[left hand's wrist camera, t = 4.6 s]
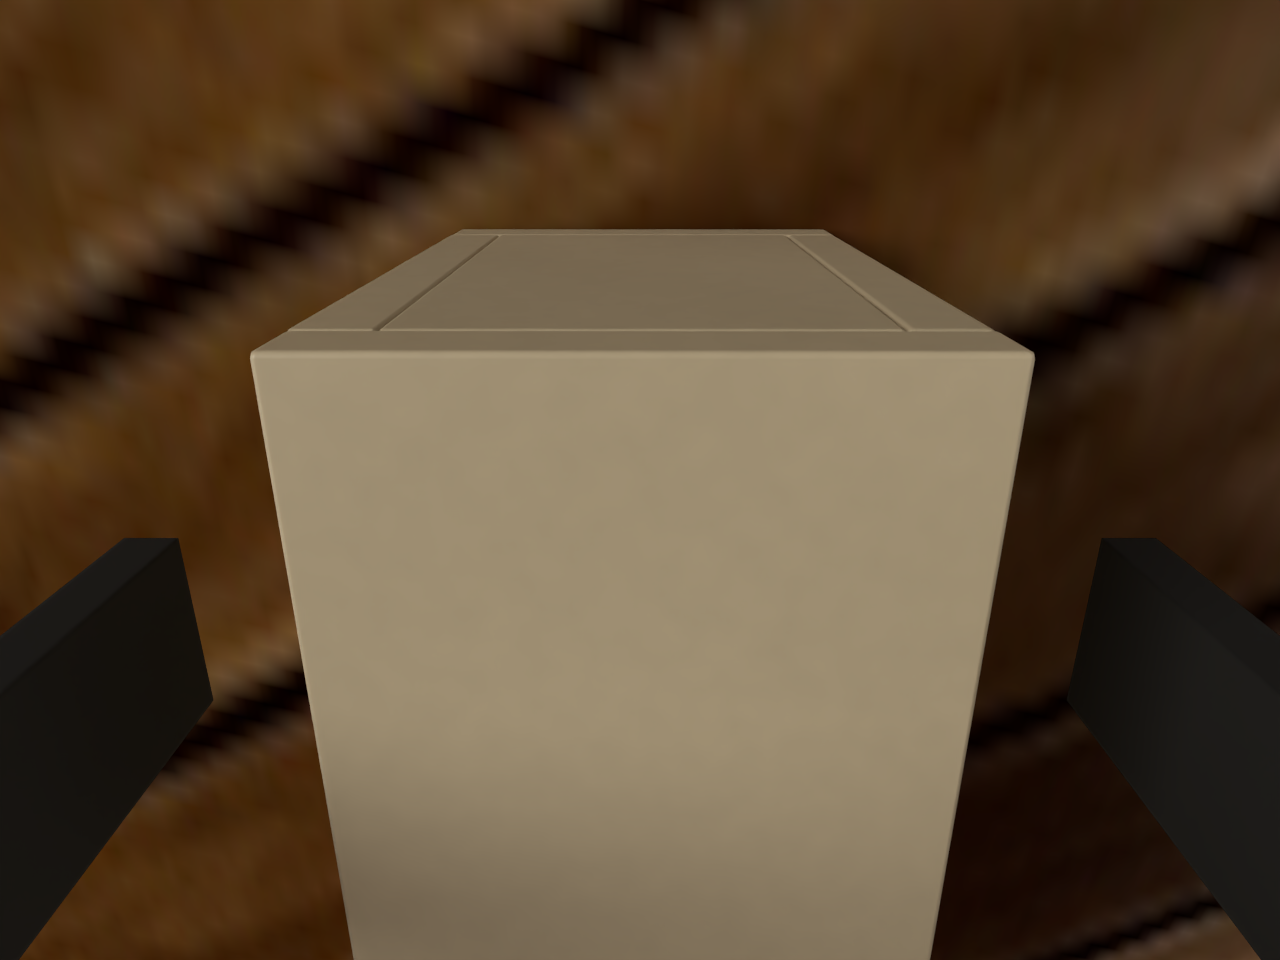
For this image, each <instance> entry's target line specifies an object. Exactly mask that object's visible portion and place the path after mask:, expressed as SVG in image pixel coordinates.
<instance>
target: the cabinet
mask: <svg viewBox="0 0 1280 960" xmlns="http://www.w3.org/2000/svg"><path fill="white" fill-rule="evenodd" d="M250 360H251V366H252V372H253V377H254V383H255V389H256V395H257V401H258V406H259V412H260V418H261V424H262V430H263V435H264V441H265V447H266V453H267V459H268V464H269V470H270V476H271V482H272V487H273V493H274V499H275V505H276V511H277V516H278V522H279V528H280V534H281V540H282V545H283V551H284V557H285V563H286V569H287V574H288V580H289V586H290V592H291V598H292V603H293V609H294V615H295V621H296V627H297V632H298V638H299V644H300V650H301V656H302V661H303V667H304V673H305V679H306V685H307V690H308V696H309V702H310V708H311V713H312V719H313V725H314V731H315V737H316V742H317V748H318V754H319V760H320V766H321V771H322V777H323V783H324V789H325V795H326V800H327V806H328V812H329V818H330V824H331V829H332V835H333V841H334V847H335V853H336V858H337V864H338V870H339V876H340V882H341V887H342V893H343V899H344V905H345V911H346V916H347V922H348V928H349V934H350V940H351V945H352V951H353V957H354V960H930V957H931V951H932V945H933V940H934V934H935V928H936V922H937V917H938V911H939V905H940V899H941V894H942V888H943V882H944V877H945V871H946V865H947V859H948V854H949V848H950V842H951V837H952V831H953V825H954V819H955V814H956V808H957V802H958V797H959V791H960V785H961V779H962V774H963V768H964V762H965V756H966V751H967V745H968V739H969V734H970V728H971V722H972V716H973V711H974V705H975V699H976V694H977V688H978V682H979V676H980V671H981V665H982V659H983V654H984V648H985V642H986V636H987V631H988V625H989V619H990V613H991V608H992V602H993V596H994V591H995V585H996V579H997V573H998V568H999V562H1000V556H1001V551H1002V545H1003V539H1004V533H1005V528H1006V522H1007V516H1008V511H1009V505H1010V499H1011V493H1012V488H1013V482H1014V476H1015V470H1016V465H1017V459H1018V453H1019V448H1020V442H1021V436H1022V430H1023V425H1024V419H1025V413H1026V408H1027V402H1028V396H1029V390H1030V385H1031V379H1032V373H1033V368H1034V362H1035V356H1034V353H1033V352H1032V351H1030V350H1028V349H1027V348H1025V347H1023V346H1022V345H1020V344H1018V343H1017V342H1015V341H1013V340H1011V339H1010V338H1008V337H1006V336H1005V335H1003V334H1001V333H999V332H997V331H995V330H993V329H991V328H990V327H988V326H986V325H984V324H983V323H981V322H979V321H978V320H976V319H974V318H972V317H971V316H969V315H967V314H966V313H964V312H962V311H961V310H959V309H957V308H955V307H954V306H952V305H950V304H949V303H947V302H945V301H944V300H942V299H940V298H938V297H937V296H935V295H933V294H932V293H930V292H928V291H927V290H925V289H923V288H921V287H920V286H918V285H916V284H915V283H913V282H911V281H910V280H908V279H906V278H904V277H903V276H901V275H899V274H898V273H896V272H894V271H893V270H891V269H889V268H887V267H886V266H884V265H882V264H881V263H879V262H877V261H876V260H874V259H872V258H870V257H869V256H867V255H865V254H864V253H862V252H860V251H859V250H857V249H855V248H853V247H852V246H850V245H848V244H847V243H845V242H843V241H842V240H840V239H838V238H836V237H835V236H833V235H832V234H830V233H828V232H827V231H825V230H599V229H463V230H461V231H459V232H457V233H456V234H454V235H451V236H449V237H448V238H446V239H444V240H442V241H441V242H439V243H437V244H436V245H434V246H432V247H430V248H429V249H427V250H425V251H423V252H422V253H420V254H418V255H417V256H415V257H413V258H411V259H410V260H408V261H406V262H404V263H403V264H401V265H399V266H398V267H396V268H394V269H392V270H391V271H389V272H387V273H385V274H384V275H382V276H380V277H378V278H377V279H375V280H373V281H372V282H370V283H368V284H366V285H365V286H363V287H361V288H359V289H358V290H356V291H354V292H353V293H351V294H349V295H347V296H346V297H344V298H342V299H340V300H339V301H337V302H335V303H334V304H332V305H330V306H328V307H327V308H325V309H323V310H321V311H320V312H318V313H316V314H315V315H313V316H311V317H309V318H308V319H306V320H304V321H302V322H301V323H299V324H297V325H296V326H294V327H292V328H290V329H289V330H288V331H287V332H285V333H283V334H281V335H280V336H278V337H276V338H275V339H273V340H271V341H269V342H268V343H266V344H264V345H262V346H261V347H259V348H257V349H256V350H254V351H252V352H251V357H250Z"/></svg>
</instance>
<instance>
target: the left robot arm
mask: <svg viewBox="0 0 1280 960" xmlns="http://www.w3.org/2000/svg"><path fill="white" fill-rule="evenodd" d="M212 701H213V696H212V692H211V687H210V682H209V678H208V673H207V669H206V664H205V659H204V655H203V650H202V646H201V641H200V636H199V632H198V627H197V623H196V618H195V613H194V609H193V604H192V600H191V595H190V590H189V586H188V581H187V577H186V572H185V567H184V563H183V558H182V554H181V549H180V545H179V540H178V538H124V539H123V540H121V541H120V542H119V543H117V544H116V545H115V546H114V547H112V548H111V549H110V550H109V551H107V552H106V553H105V554H104V555H102V556H101V557H100V558H98V559H97V560H96V561H95V562H93V563H92V564H91V565H90V566H88V567H87V568H86V569H85V570H83V571H82V572H81V573H79V574H78V575H77V576H76V577H74V578H73V579H72V580H71V581H69V582H68V583H67V584H66V585H64V586H63V587H62V588H60V589H59V590H58V591H57V592H55V593H54V594H53V595H52V596H50V597H49V598H48V599H47V600H45V601H44V602H43V603H41V604H40V605H39V606H38V607H36V608H35V609H34V610H33V611H31V612H30V613H29V614H28V615H26V616H25V617H24V618H22V619H21V620H20V621H19V622H17V623H16V624H15V625H14V626H12V627H11V628H10V629H9V630H7V631H6V632H5V633H3V634H2V635H1V636H0V960H19V959H20V957H21V956H22V955H23V953H24V952H25V951H26V949H27V948H28V947H29V945H30V944H31V943H32V941H33V940H34V939H35V937H36V936H37V935H38V933H39V932H40V931H41V929H42V928H43V927H44V925H45V924H46V923H47V921H48V920H49V919H50V917H51V916H52V915H53V913H54V912H55V911H56V909H57V908H58V907H59V905H60V904H61V903H62V901H63V900H64V899H65V897H66V896H67V895H68V893H69V892H70V891H71V889H72V888H73V887H74V885H75V884H76V883H77V881H78V880H79V879H80V877H81V876H82V875H83V873H84V872H85V871H86V869H87V868H88V867H89V865H90V864H91V863H92V861H93V860H94V859H95V857H96V856H97V855H98V853H99V852H100V851H101V849H102V848H103V847H104V845H105V844H106V843H107V841H108V840H109V839H110V837H111V836H112V835H113V833H114V832H115V831H116V829H117V828H118V827H119V825H120V824H121V823H122V821H123V820H124V819H125V817H126V816H127V815H128V813H129V812H130V811H131V809H132V808H133V807H134V805H135V804H136V803H137V801H138V800H139V799H140V797H141V796H142V795H143V793H144V792H145V791H146V789H147V788H148V787H149V785H150V784H151V783H152V781H153V780H154V779H155V777H156V776H157V775H158V773H159V772H160V771H161V769H162V768H163V767H164V765H165V764H166V763H167V761H168V760H169V759H170V757H171V756H172V755H173V753H174V752H175V751H176V749H177V748H178V747H179V745H180V744H181V743H182V741H183V740H184V739H185V737H186V736H187V735H188V733H189V732H190V731H191V729H192V728H193V727H194V725H195V724H196V723H197V721H198V720H199V719H200V717H201V716H202V715H203V713H204V712H205V711H206V709H207V708H208V707H209V705H210V704H211V703H212ZM1067 701H1068V703H1069V704H1070V705H1071V707H1072V708H1073V709H1074V711H1075V712H1076V713H1077V715H1078V716H1079V717H1080V719H1081V720H1082V721H1083V723H1084V724H1085V725H1086V727H1087V728H1088V729H1089V731H1090V732H1091V733H1092V735H1093V736H1094V737H1095V739H1096V740H1097V741H1098V743H1099V744H1100V745H1101V747H1102V748H1103V749H1104V751H1105V752H1106V753H1107V755H1108V756H1109V757H1110V759H1111V760H1112V761H1113V763H1114V764H1115V765H1116V767H1117V768H1118V769H1119V771H1120V772H1121V773H1122V775H1123V776H1124V777H1125V779H1126V780H1127V781H1128V783H1129V784H1130V785H1131V787H1132V788H1133V789H1134V791H1135V792H1136V793H1137V795H1138V796H1139V797H1140V799H1141V800H1142V801H1143V803H1144V804H1145V805H1146V807H1147V808H1148V809H1149V811H1150V812H1151V813H1152V815H1153V816H1154V817H1155V819H1156V820H1157V821H1158V823H1159V824H1160V825H1161V827H1162V828H1163V829H1164V831H1165V832H1166V833H1167V835H1168V836H1169V837H1170V839H1171V840H1172V841H1173V843H1174V844H1175V845H1176V847H1177V848H1178V849H1179V851H1180V852H1181V853H1182V855H1183V856H1184V857H1185V859H1186V860H1187V861H1188V863H1189V864H1190V865H1191V867H1192V868H1193V869H1194V871H1195V872H1196V873H1197V875H1198V876H1199V877H1200V879H1201V880H1202V881H1203V883H1204V884H1205V885H1206V887H1207V888H1208V889H1209V891H1210V892H1211V893H1212V895H1213V896H1214V897H1215V899H1216V900H1217V901H1218V903H1219V904H1220V905H1221V907H1222V908H1223V909H1224V911H1225V912H1226V913H1227V915H1228V916H1229V917H1230V919H1231V920H1232V921H1233V923H1234V924H1235V925H1236V927H1237V928H1238V929H1239V931H1240V932H1241V933H1242V935H1243V936H1244V937H1245V939H1246V940H1247V941H1248V943H1249V944H1250V945H1251V947H1252V948H1253V949H1254V951H1255V952H1256V953H1257V955H1258V956H1259V957H1260V959H1261V960H1280V636H1279V635H1278V634H1277V633H1275V632H1274V631H1273V630H1271V629H1270V628H1269V627H1268V626H1266V625H1265V624H1264V623H1263V622H1261V621H1260V620H1259V619H1258V618H1256V617H1255V616H1254V615H1252V614H1251V613H1250V612H1249V611H1247V610H1246V609H1245V608H1244V607H1242V606H1241V605H1240V604H1239V603H1237V602H1236V601H1235V600H1233V599H1232V598H1231V597H1230V596H1228V595H1227V594H1226V593H1225V592H1223V591H1222V590H1221V589H1220V588H1218V587H1217V586H1216V585H1214V584H1213V583H1212V582H1211V581H1209V580H1208V579H1207V578H1206V577H1204V576H1203V575H1202V574H1201V573H1199V572H1198V571H1197V570H1195V569H1194V568H1193V567H1192V566H1190V565H1189V564H1188V563H1187V562H1185V561H1184V560H1183V559H1182V558H1180V557H1179V556H1178V555H1176V554H1175V553H1174V552H1173V551H1171V550H1170V549H1169V548H1168V547H1166V546H1165V545H1164V544H1163V543H1161V542H1160V541H1159V540H1157V539H1156V538H1102V540H1101V545H1100V549H1099V554H1098V558H1097V563H1096V567H1095V572H1094V577H1093V581H1092V586H1091V590H1090V595H1089V600H1088V604H1087V609H1086V613H1085V618H1084V623H1083V627H1082V632H1081V636H1080V641H1079V646H1078V650H1077V655H1076V659H1075V664H1074V669H1073V673H1072V678H1071V682H1070V687H1069V692H1068V696H1067Z"/></svg>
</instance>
